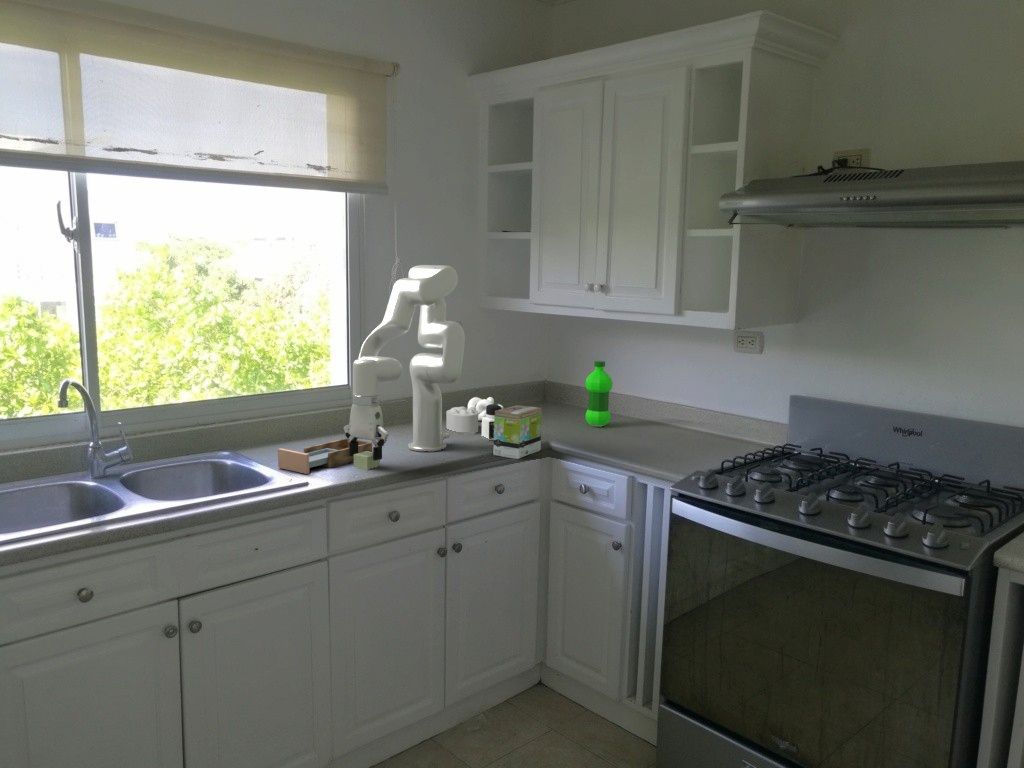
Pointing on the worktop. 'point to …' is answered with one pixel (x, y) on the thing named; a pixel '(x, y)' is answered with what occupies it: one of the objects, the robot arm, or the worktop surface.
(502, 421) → the tea box
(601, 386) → the plastic bottle
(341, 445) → the organiser box
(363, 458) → the olive block
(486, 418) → the medicine bottle
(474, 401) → the white knobbly figure
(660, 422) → the worktop surface
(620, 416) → the worktop surface
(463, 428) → the lumpy-topped squat cylinder
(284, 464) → the wooden drawer
